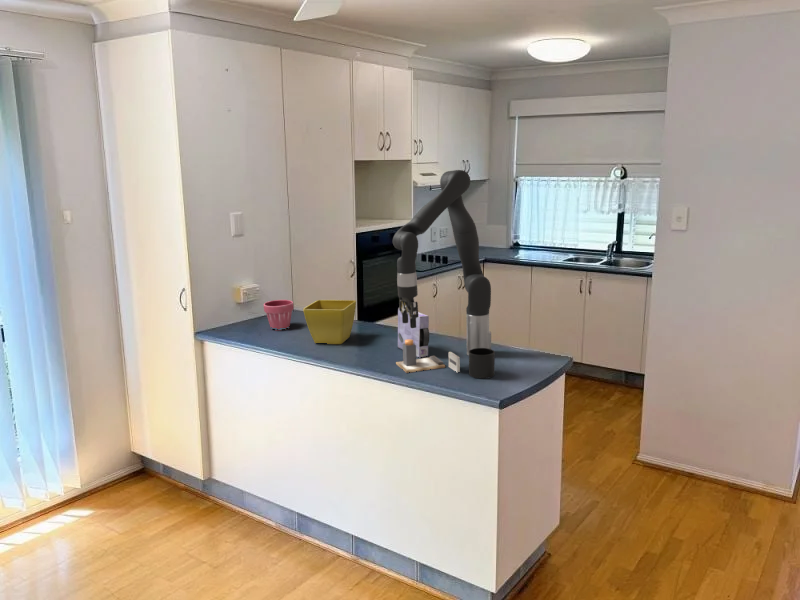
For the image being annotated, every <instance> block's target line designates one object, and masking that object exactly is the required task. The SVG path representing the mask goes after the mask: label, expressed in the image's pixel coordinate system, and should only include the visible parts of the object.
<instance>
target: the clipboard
mask: <svg viewBox="0 0 800 600" xmlns="http://www.w3.org/2000/svg"><path fill="white" fill-rule="evenodd" d="M395 364H396V366H397V367H399V368H400V369H401V370H402V369H403V371H404V372H405V373H406V374H408V373H409V372H410V373H415V372H416V371H417V372H422V371H423V370H424V371H428V370H430V369H431V370H436V369H437V370H438V369H444V368H446V364H444V361H443V360H441V359H440V358H438V357H437V356H436V355H431V356H429V357H422V358H416V365H411V366H406V365H405V364H403V360H402V361H396V362H395ZM410 373H409V374H410Z"/></svg>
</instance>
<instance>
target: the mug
mask: <svg viewBox="0 0 800 600" xmlns="http://www.w3.org/2000/svg"><path fill="white" fill-rule="evenodd" d="M495 354H496V353H495V350H494V349H492V348H491V349H488V348H475V349H471V350H470V351H469V356H468V375H469V376H470V377H471V378H474V379H483V380H484V379H490V378H493V377H494V376H495V371H496V370H495V366H496V365H495V364H496V362H495V361H496V360H495V356H496V355H495Z"/></svg>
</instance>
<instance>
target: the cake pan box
mask: <svg viewBox="0 0 800 600" xmlns="http://www.w3.org/2000/svg"><path fill="white" fill-rule="evenodd" d="M413 315H414V313H413ZM429 319H430V316H429V315H427V314H424V313H422V312H419V311H418V317H417V318H416V328H411V327H410V317H409V314H408V323H403V322H402V313H401V311H400V310H399V307H398V308H397V348H398V349H400V350H402V351H403V344H404V343H405V340H407V339H412V340H413V343H414V344H415V345H416V358H418V357H419V358H418V359H422V358H427V357H429V344H430V330H429V329H430V328H429V327H430V325H429V324H430V323H429V322H430V321H429ZM426 356H427V357H426ZM421 357H422V358H421Z"/></svg>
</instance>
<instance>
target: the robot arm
mask: <svg viewBox="0 0 800 600" xmlns="http://www.w3.org/2000/svg"><path fill="white" fill-rule="evenodd" d="M439 183H440V184H439V185H440V190H441V191H440V192H439V193H438V194H437V195H436V196H434V198H431V200H430V201H428V202H426V204H424V206H422V207H421V208H420V209H419V210H418V212H417V213H416V214H415V215H414V216H413V217H412V218H411V220H409V221H408V222H406V224H404V225H402V227H400V228H399V229H398V230H397V231H396V232H395V233H394V235H393V237H392V244H393V246H394V248H395V249H397V250H399V251H401V256H399V257H398V258H397V262H396V267H397V269H396V270H397V275H396V277H397V278H396V281H397V282H396V283H397V296H398V304H399V307H398V308H399V310H400V311H401V313H402V322H403V323H408V314H409V317H410V327H411V328H416V318H417V317H418V312H419V305H418V304H419V302H418V301H415V299H414V298H416V297H417V296H418V291H419V290H418V278H417V271H416V270H417V269H416V268H417V266H416V260H417V257H418V250H419V240H418V237H417V236H419V235H423V234H425V233H426V231H427V230H428V229H429V228H430V227H431V226H432V224H433V223H434V222H435V221H436V220H437V219H438V218H439V216H440V215H441V214H442V213H443V212H444V211H445V210H446V209H447V211H448V214H449V215H448V216H449V219H450V223H451V224H450V225H451V228H452V234H453V238H454V241H455V245H456V246H455V247H456V249H457V253H458V256H459V260H460V263H461V267H462V275H463V283H464V284H463V285H464V289H465V290H466V292H467V293H468V295H467V296H468V297H467V306H466V310H465V311H466V313H465V314H466V317H465V318H466V322H465V323H466V355H467V356H468V357H469V351H470V350H471V349H475V348H488V349H492V332H491V331H490V310H491V309H490V308H491V305H492V302H491V301H492V285H491V282H490V279H488V278H487V277H486V276H484V273H483V270H482V267H481V263H480V255H479V254H480V240H479V234H478V231H477V227H476V223H475V221H474V219H473V218H472V216H471V214H470V213H469V211H468V209H467V208H466V206H465V204H464V200H463V196H462V195H464V194H465V192H467V191H468V189H469V188H470V186H471V176H470V175H469V173H468V172H467V171H466V170H462V169H454V170H448V171H445V172H444V173H442V175H441V177H440V180H439ZM413 313H414V315H413Z"/></svg>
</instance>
